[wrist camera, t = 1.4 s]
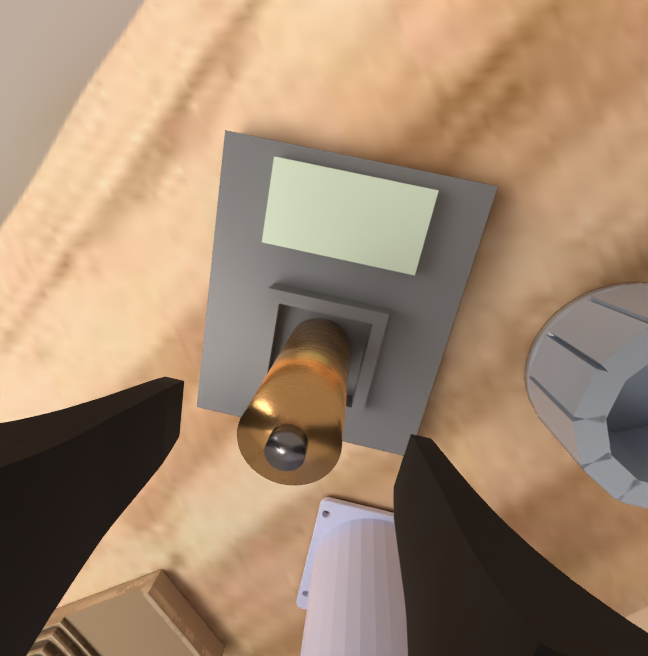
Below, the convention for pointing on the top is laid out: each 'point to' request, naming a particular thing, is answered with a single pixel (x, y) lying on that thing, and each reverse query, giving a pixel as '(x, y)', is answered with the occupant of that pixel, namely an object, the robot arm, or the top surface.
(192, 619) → the banker's lamp
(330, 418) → the copper cell
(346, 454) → the top surface
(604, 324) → the cup
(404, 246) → the battery tester
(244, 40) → the top surface
